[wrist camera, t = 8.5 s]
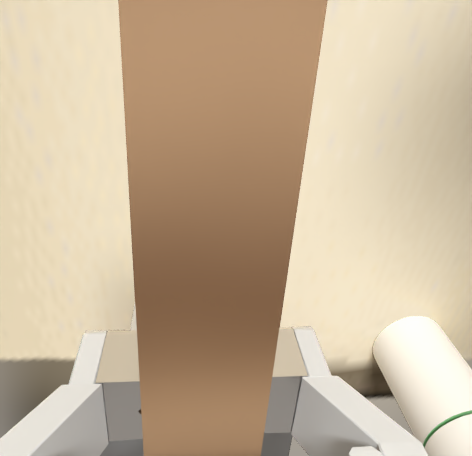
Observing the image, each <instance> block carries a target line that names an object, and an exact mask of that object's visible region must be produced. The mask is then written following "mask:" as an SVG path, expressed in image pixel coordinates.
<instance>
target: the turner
mask: <svg viewBox="0 0 472 456" xmlns="http://www.w3.org/2000/svg"><path fill="white" fill-rule="evenodd" d="M118 2H119V20H120V38H121V56H122V74H123V92H124V109H125V127H126V145H127V163H128V181H129V199H130V217H131V235H132V253H133V271H134V289H135V307H136V325H137V343H138V361H139V379H140V397H141V415H142V433H143V439H133V440H120V441H108V443H109V444H108V445H107V447H106V448H105V449H104V451H103V452H102V453H101V455H100V456H288V455H289V450H290V445H291V440H292V435H291V433H292V432H290V433H264V430H265V423H266V416H267V409H268V403H269V396H270V389H271V382H272V375H273V368H274V362H275V355H276V348H277V341H278V334H279V328H280V321H281V314H282V307H283V300H284V293H285V287H286V280H287V273H288V266H289V259H290V253H291V246H292V239H293V232H294V225H295V218H296V212H297V205H298V198H299V191H300V184H301V178H302V171H303V164H304V157H305V150H306V143H307V137H308V130H309V123H310V116H311V109H312V103H313V96H314V89H315V82H316V75H317V68H318V62H319V55H320V48H321V41H322V34H323V28H324V21H325V14H326V7H327V0H118Z"/></svg>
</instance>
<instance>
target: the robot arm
mask: <svg viewBox="0 0 472 456" xmlns="http://www.w3.org/2000/svg"><path fill="white" fill-rule="evenodd" d="M290 432H292V433H291V435H292V436H293V437H294V438H295V439H296V441H297V442H298V443H299V444H300V445H301V447H302V448H303V449H304V450H305V451H306V453H307V454H308V455H309V456H428V454H427V452H426V450H425V449H424V447H423V445H422V443H421V442H420V441H419V440H418V439H416V438H415V437H414V436H413V435H411V434H410V433H409V432H408V431H406V430H405V429H404V428H403V427H401V426H400V425H399V424H398V423H396V422H395V421H394V420H392V419H391V418H390V417H389V416H388V415H386V414H385V413H384V412H382V411H381V410H380V409H379V408H377V407H376V406H375V405H374V404H372V403H371V402H370V401H369V400H367V399H366V398H365V397H364V396H362V395H361V394H360V393H359V392H357V391H356V390H355V389H354V388H352V387H351V386H350V385H348V384H347V383H346V382H345V381H343V380H342V379H341V378H340V377H338V376H331V373H330V370H329V368H328V365H327V362H326V360H325V357H324V355H323V352H322V349H321V347H320V344H319V342H318V339H317V336H316V334H315V331H314V329H313V328H312V327H311V326H308V327H291V328H290V327H289V328H279V334H278V341H277V348H276V355H275V362H274V368H273V375H272V382H271V389H270V396H269V403H268V409H267V416H266V423H265V430H264V433H290ZM133 439H143V433H142V415H141V397H140V379H139V361H138V343H137V330H108V331H86V332H85V333H84V334H83V337H82V340H81V343H80V347H79V350H78V353H77V357H76V360H75V364H74V367H73V370H72V374H71V377H70V381H69V384H68V385H61V386H60V387H59V388H58V389H56V390H55V391H54V392H53V393H52V394H51V395H50V396H48V397H47V398H46V399H45V400H44V401H43V402H42V403H40V404H39V405H38V406H37V407H36V408H35V409H34V410H32V411H31V412H30V413H29V414H28V415H27V416H26V417H24V419H22V420H21V421H20V422H19V423H18V424H16V425H15V426H14V427H13V428H12V429H11V430H10V431H9V432H7V433H6V434H5V435H4V436H3V437H2V438H0V456H100V455H101V453H102V452H103V451H104V449H105V448H106V447H107V445H108V444H109V443H108V441H120V440H133Z"/></svg>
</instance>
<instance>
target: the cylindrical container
mask: <svg viewBox="0 0 472 456" xmlns="http://www.w3.org/2000/svg"><path fill="white" fill-rule="evenodd" d="M373 355H374V358H375V360H376V362H377V364H378V366H379V368H380V370H381V372H382V374H383V376H384V378H385V380H386V382H387V384H388V386H389V388H390V390H391V392H392V393H393V395H394V397H395V399H396V401H397V403H398V405H399V407H400V409H401V411H402V413H403V415H404V417H405V419H406V421H407V423H408V425H409V427H410V429H411V431H412V433H413V435H414V437H415V438H416V439H418V440H419V441H420V442H421V443H422V445H423V447H424V449H425V450H426V452H427V454H428V456H472V369H471V368H470V366H469V365H468V364H467V362H466V361H465V360H464V358H463V357H462V356H461V354H460V353H459V352H458V350H457V349H456V347H455V346H454V345H453V343H452V342H451V341H450V339H449V338H448V337H447V335H446V334H445V332H444V331H443V330H442V328H441V327H440V326H439V324H438V323H437V322H436V321H434V320H432V319H431V318H428V317H424V316H411V317H405V318H402V319H399V320H397V321H395V322H393V323H391V324H390V325H388V326H387V327H385V328H384V329H383V330H382V331H381V332H380V333H379V335H378V336H377V338H376V340H375V342H374V345H373Z"/></svg>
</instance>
